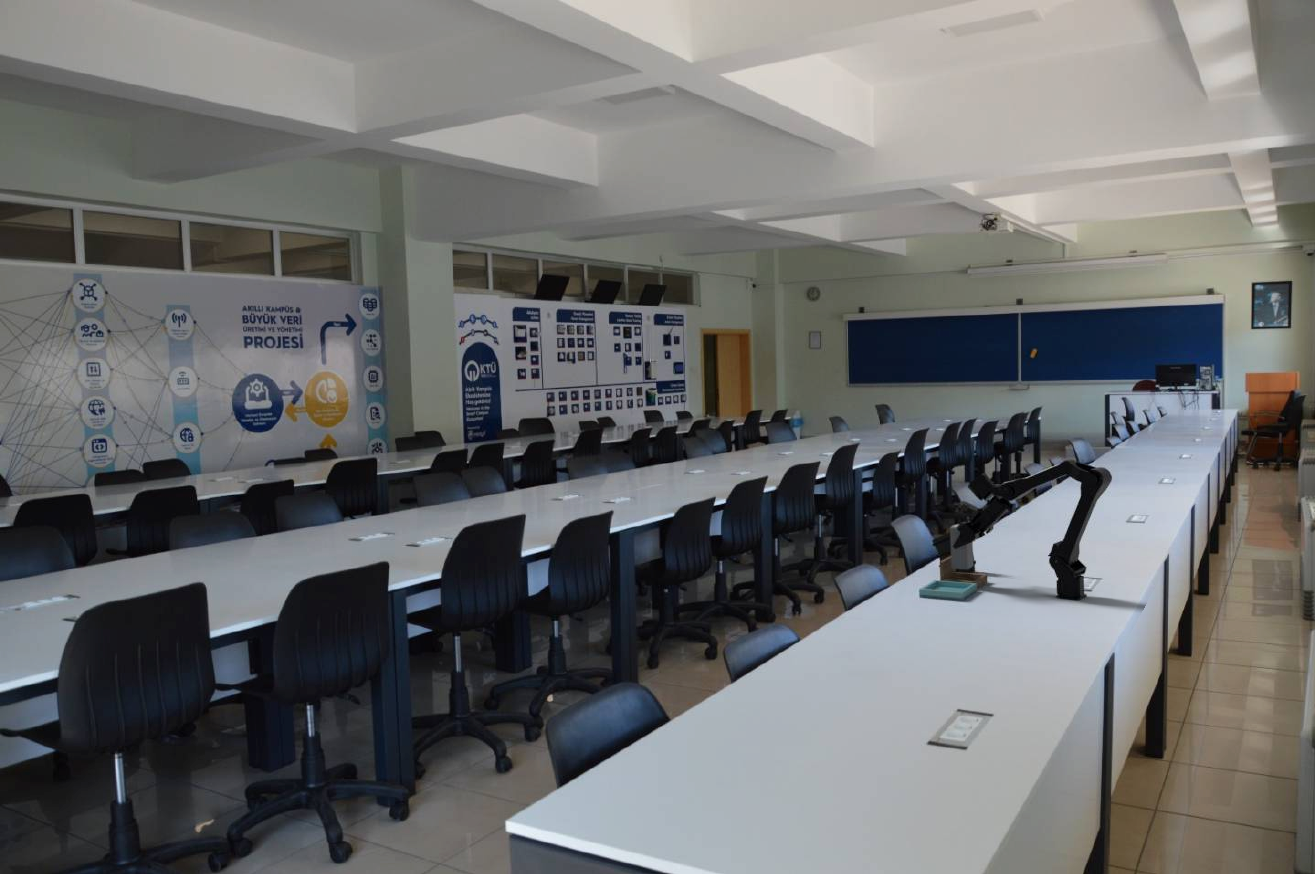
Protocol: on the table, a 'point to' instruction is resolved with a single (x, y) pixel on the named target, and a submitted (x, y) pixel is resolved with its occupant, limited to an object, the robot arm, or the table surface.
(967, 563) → the grey lidded box
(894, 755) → the table surface
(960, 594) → the teal tray
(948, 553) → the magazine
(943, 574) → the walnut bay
